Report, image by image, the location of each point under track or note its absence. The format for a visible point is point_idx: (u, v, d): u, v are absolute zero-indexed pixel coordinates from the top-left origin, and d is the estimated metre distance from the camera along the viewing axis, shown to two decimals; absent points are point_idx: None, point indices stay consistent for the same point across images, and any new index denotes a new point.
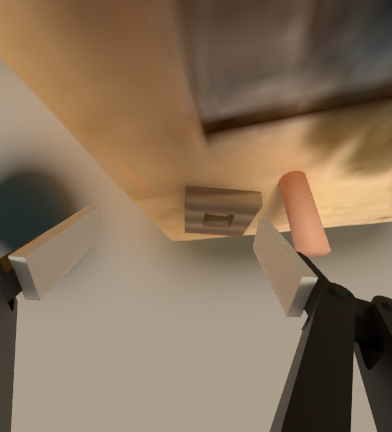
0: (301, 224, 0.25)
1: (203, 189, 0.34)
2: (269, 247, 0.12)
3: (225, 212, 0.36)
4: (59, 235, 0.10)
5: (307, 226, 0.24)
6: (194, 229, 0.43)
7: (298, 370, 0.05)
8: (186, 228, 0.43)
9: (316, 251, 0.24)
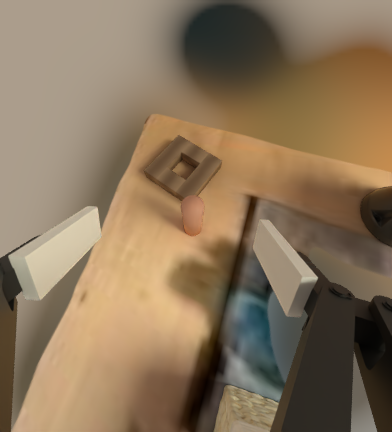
0: None
1: (214, 174, 0.48)
2: (269, 247, 0.12)
3: (192, 174, 0.45)
4: (59, 235, 0.10)
5: None
6: (179, 144, 0.48)
7: (298, 370, 0.05)
8: (184, 139, 0.48)
9: (196, 207, 0.31)
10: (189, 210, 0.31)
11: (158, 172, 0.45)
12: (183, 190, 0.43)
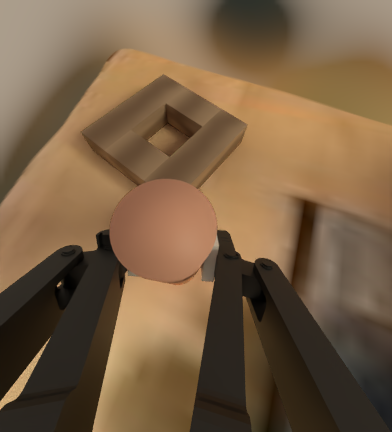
0: None
1: (228, 154, 0.24)
2: None
3: (184, 147, 0.21)
4: None
5: None
6: (163, 89, 0.24)
7: (206, 332, 0.06)
8: (173, 83, 0.25)
9: (178, 235, 0.07)
10: (147, 246, 0.07)
11: (111, 138, 0.21)
12: (162, 178, 0.19)
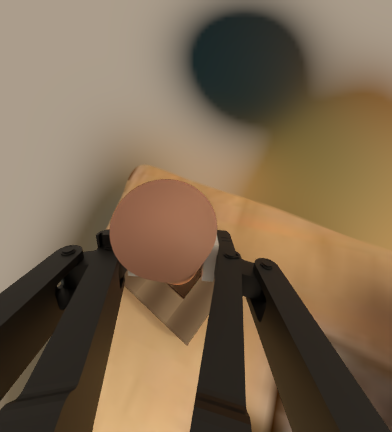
0: None
1: None
2: None
3: (195, 289, 0.27)
4: None
5: None
6: None
7: (206, 332, 0.06)
8: None
9: (178, 235, 0.07)
10: (147, 246, 0.07)
11: (138, 282, 0.27)
12: (178, 322, 0.25)
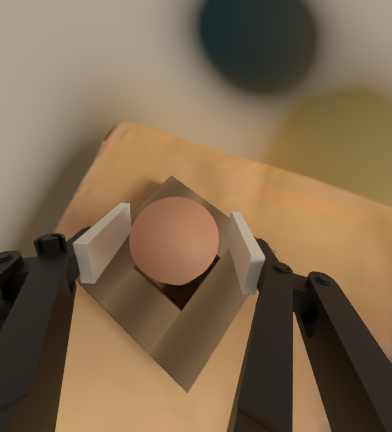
0: None
1: None
2: (235, 235, 0.13)
3: (199, 294, 0.17)
4: (106, 227, 0.12)
5: None
6: None
7: (250, 345, 0.06)
8: (184, 188, 0.20)
9: (187, 245, 0.08)
10: (161, 255, 0.08)
11: (108, 282, 0.17)
12: (172, 350, 0.15)
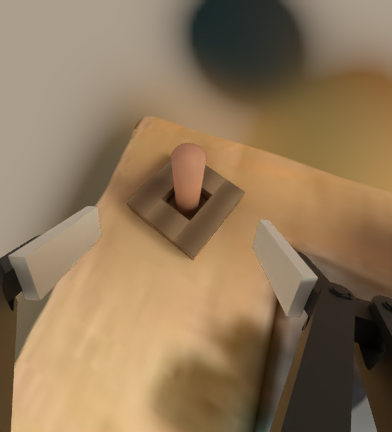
0: None
1: None
2: (269, 247, 0.12)
3: (200, 212, 0.29)
4: (59, 235, 0.10)
5: (203, 174, 0.23)
6: None
7: (298, 370, 0.05)
8: None
9: (193, 160, 0.21)
10: (183, 163, 0.20)
11: (148, 206, 0.29)
12: (185, 238, 0.27)
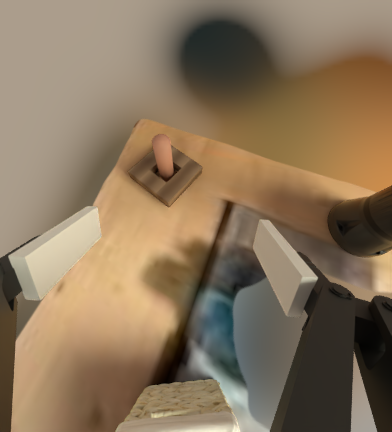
0: (171, 151, 0.43)
1: (194, 179, 0.51)
2: (269, 247, 0.12)
3: (173, 178, 0.48)
4: (59, 235, 0.10)
5: (171, 152, 0.42)
6: None
7: (298, 370, 0.05)
8: None
9: (163, 142, 0.39)
10: (158, 144, 0.39)
11: (141, 174, 0.48)
12: (163, 192, 0.46)
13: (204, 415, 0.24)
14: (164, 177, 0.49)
